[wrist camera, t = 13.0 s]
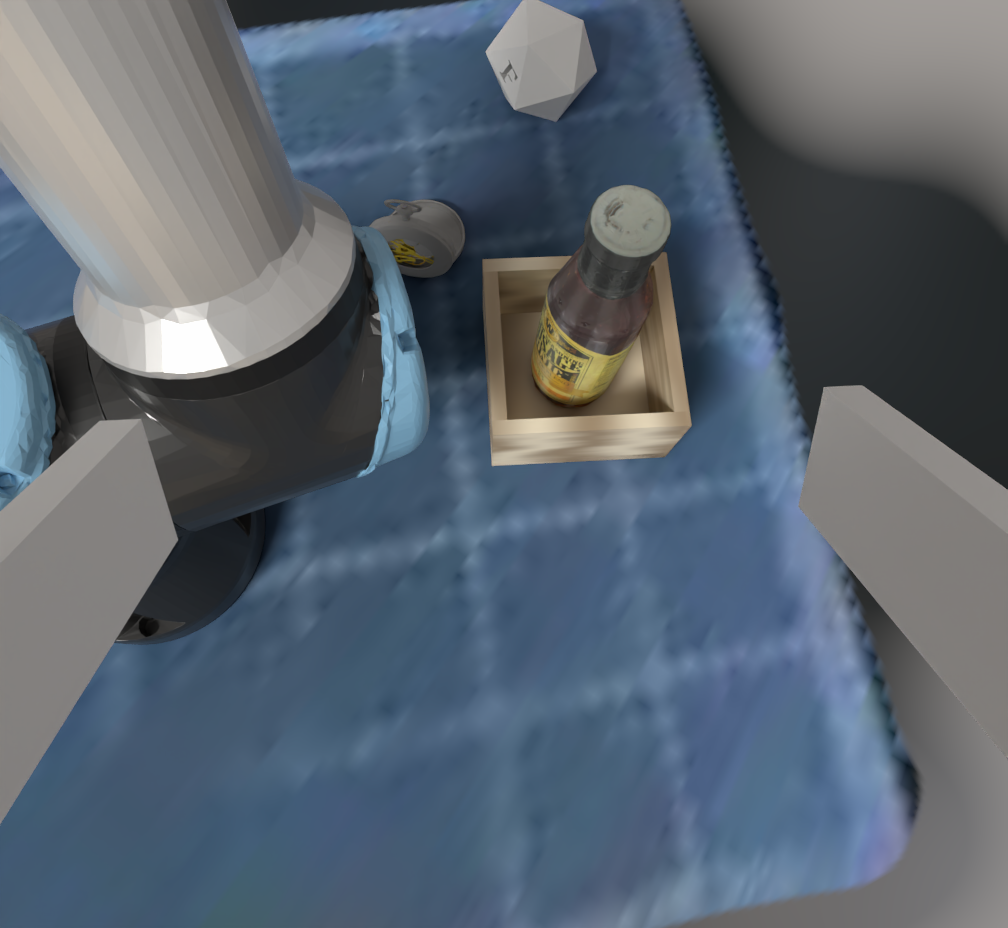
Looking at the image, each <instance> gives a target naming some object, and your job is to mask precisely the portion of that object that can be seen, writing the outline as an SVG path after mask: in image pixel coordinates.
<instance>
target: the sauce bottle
mask: <svg viewBox="0 0 1008 928" xmlns="http://www.w3.org/2000/svg"><path fill="white" fill-rule="evenodd" d="M584 230H585V232H584V235H585V240H584V243H583V245H581V246H580V247H579V249H578V250H577V251H576V252H575V253H574V254H573V256H572V257H571V258H570V259H569V260H568V261H567V262H566V264H565V265H564V266H563V267H562V268H561V269H560V270H559V272H558V273H557V274H556V275H555V276H554V277H553V279H552V280H551V281H550V283H549V286H548V289H547V293H546V297H545V301H544V306H543V310H542V313H541V318H540V321H539V326H538V330H537V335H536V339H535V343H534V347H533V351H532V355H531V370H532V377H533V380H534V383H535V387H536V388H537V389H538V391H539V392H540V393H541V394H542V395H543V396H544V397H545V398H547V400H550V401H551V402H552V403H554V404H555V405H557V406H562V407H583V406H587V405H589V404H590V403H592V402H593V401H594V400H596V399H597V398H599V397H600V396H601V395H603V394H604V393H605V391H606V390H607V389H608V387H609V386H610V384H611V382H612V381H613V379H614V377H615V375H616V374H617V372H618V370H619V369H620V367H621V365H622V364H623V362H624V360H625V358H626V357H627V355H628V353H629V351H630V350H631V348H632V346H633V344H634V342H635V341H636V339H637V337H638V336H639V334H640V332H641V329H642V326H643V324H644V322H645V321H646V319H647V317H648V315H649V312H650V309H651V307H652V305H653V283H652V279H651V275H650V272H649V268H650V266H651V264H652V263H653V262H654V261H655V260H656V259H657V258H658V257H659V256H660V254H661V253H662V251H663V249H664V247H665V245H666V243H667V240H668V238H669V236H670V230H671V219H670V214H669V211H668V210H667V208H666V207H665V205H664V204H663V202H662V201H661V199H660V198H659V197H658V196H657V195H655V194H654V193H653V192H651V191H649V190H647V189H644V188H640V187H637V186H633V185H622V186H617V187H614V188H610V189H609V190H607V191H605V192H604V193H602V194H601V195H600V196H599V197H598V198H597V199H596V201H595V202H594V204H593V205H592V207H591V210H590V212H589V215H588V218H587V220H586V223H585V229H584Z"/></svg>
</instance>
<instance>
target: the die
mask: <svg viewBox="0 0 1008 928" xmlns="http://www.w3.org/2000/svg"><path fill="white" fill-rule="evenodd" d="M486 54H487V57H488V59H489V61H490V64H491V66H492V68H493V70H494V73H495V75H496V77H497V79H498V82H499V84H500V86H501V89H502V91H503V93H504V95H505V98H506V99H507V101H508V102H509V103H510V105H511V106H512V107H513V109H514V110H516V111H520V112H523V113H527V114H530V115H534V116H537V117H541V118H544V119H548V120H551V121H555V122H557V120H558V119H559V118H560V117H561V115H562V114H563V113H564V112H565V110H566V109H567V108H568V107H569V105H570V104H571V103H572V102H573V101H574V99H575V98H576V97H577V96H578V94H579V93H580V92H581V91H582V89H583V88H584V87H585V86H586V84H587V83H588V82H589V81H590V80H591V78H592V77H593V76H594V75H595V73H596V72H597V70H596V66H595V62H594V58H593V55H592V51H591V47H590V43H589V40H588V36H587V32H586V28H585V25H584V21H583V20H581V19H579V18H577V17H575V16H572V15H570V14H568V13H566V12H563V11H561V10H559V9H557V8H554V7H552V6H550V5H548V4H545V3H543V2H541V1H539V0H523V1H522V2H521V3H520V5H519V6H518V7H517V9H516V10H515V12H514V13H513V14H512V16H511V17H510V19H509V20H508V21H507V23H506V24H505V25H504V27H503V28H502V30H501V31H500V32H499V34H498V35H497V36H496V38H495V39H494V41H493V42H492V43H491V45H490V46H489V47H488V49H487V50H486Z"/></svg>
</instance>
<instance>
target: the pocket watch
mask: <svg viewBox="0 0 1008 928" xmlns="http://www.w3.org/2000/svg"><path fill="white" fill-rule="evenodd" d="M389 203H401V204H400V205H398V206H397V207H395V206H393V205H390V204H389ZM384 204H385V205H386V206H387V207H389V208H392V209H395V211H394V212H393V213H392V214H391V215H390V216H385V217H382V218H379V219H377V220H375V221H374V222H373V223H372V224H371V225H370V226H369V227H372V228H375V229H377V230H378V231H379V232H380V233H381V234H382V235H383V237H384V238H385V240H386V241H387V243H388V245H389V247H390V249H391V251H392V253H393V255H394V258H395V260H396V262H397V265H398V268H399V270H400V273H401V274H404V275H408V276H413V277H422V278H426V277H435V276H439V275H442V274H444V273H446V272H447V271H448V270H449V269H450V268H451V266H452V264H453V263H454V261H455V260H456V259H457V258H458V257H459V256H460V254H461V252H462V250H463V247H464V243H465V229H464V225H463V222H462V220H461V219H460V217H459V216H458V214H457V213H456V212H455V211H454V210H453V209H451V208H450V207H448V206H447V205H445V204H443V203H441V202H438V201H433V200H416V201H412V202H408V201H403V200H395V199H392V200H386V201H384Z"/></svg>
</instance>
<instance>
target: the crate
mask: <svg viewBox="0 0 1008 928" xmlns="http://www.w3.org/2000/svg"><path fill="white" fill-rule="evenodd" d="M571 257H572V256H556V257H529V258H502V259H483V319H484V337H485V354H486V372H487V389H488V407H489V424H490V442H491V459H492V466H497V465H517V464H537V463H557V462H577V461H597V460H617V459H637V458H657V457H665V456H666V455H667V454H668V453H669V451H670V450H671V449H672V448H673V447H674V446H675V444H676V443H677V442H678V441H679V440H680V439H681V437H682V436H683V435H684V434H685V433H686V432H687V430H688V429H689V428H690V427H691V426H692V424H691V417H690V411H689V404H688V397H687V390H686V383H685V376H684V370H683V363H682V356H681V349H680V342H679V335H678V328H677V322H676V315H675V308H674V301H673V294H672V287H671V281H670V274H669V267H668V260H667V253H666V252H662V253H661V254H660V256H659V257H658V258H657V259H656V260H655V261H654V262H653V263H652V264H651V266H650V268H649V272H650V275H651V279H652V283H653V305H652V307H651V309H650V312H649V315H648V317H647V319H646V321H645V322H644V324H643V326H642V329H641V332H640V334H639V336H638V337H637V339H636V341H635V342H634V344H633V346H632V348H631V350H630V351H629V353H628V355H627V357H626V358H625V360H624V362H623V364H622V365H621V367H620V369H619V370H618V372H617V374H616V375H615V377H614V379H613V381H612V382H611V384H610V386H609V387H608V389H607V390H606V391H605V393H604V394H603V395H601V396H600V397H599V398H597V399H596V400H594V401H593V402H592V403H590V404H589V405H587V406H583V407H562V406H557V405H555V404H554V403H552V402H551V401H550V400H547V398H545V397H544V396H543V395H542V394H541V393H540V392H539V391H538V389H537V388H536V387H535V383H534V380H533V377H532V370H531V355H532V351H533V347H534V343H535V339H536V335H537V330H538V326H539V321H540V318H541V313H542V310H543V306H544V301H545V297H546V293H547V289H548V286H549V283H550V281H551V280H552V279H553V277H554V276H555V275H556V274H557V273H558V272H559V270H560V269H561V268H562V267H563V266H564V265H565V264H566V262H567V261H568V260H569V259H570V258H571Z"/></svg>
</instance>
